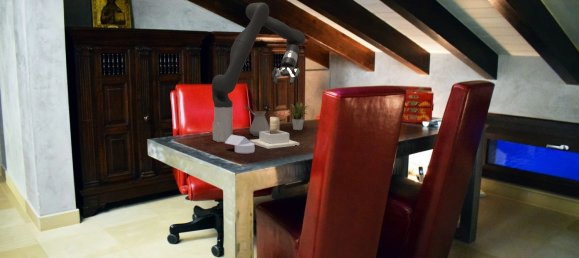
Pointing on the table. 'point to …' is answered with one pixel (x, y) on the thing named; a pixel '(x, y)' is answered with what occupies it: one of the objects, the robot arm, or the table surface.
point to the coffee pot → (258, 122)
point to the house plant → (298, 120)
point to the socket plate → (273, 140)
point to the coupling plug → (274, 125)
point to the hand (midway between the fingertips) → (282, 83)
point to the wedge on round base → (241, 144)
